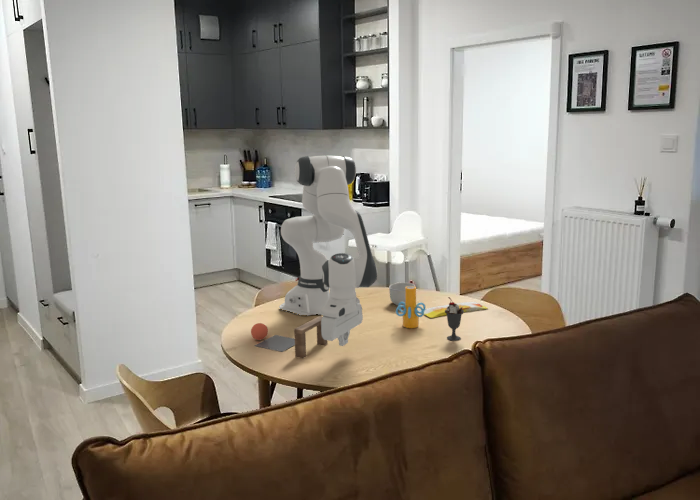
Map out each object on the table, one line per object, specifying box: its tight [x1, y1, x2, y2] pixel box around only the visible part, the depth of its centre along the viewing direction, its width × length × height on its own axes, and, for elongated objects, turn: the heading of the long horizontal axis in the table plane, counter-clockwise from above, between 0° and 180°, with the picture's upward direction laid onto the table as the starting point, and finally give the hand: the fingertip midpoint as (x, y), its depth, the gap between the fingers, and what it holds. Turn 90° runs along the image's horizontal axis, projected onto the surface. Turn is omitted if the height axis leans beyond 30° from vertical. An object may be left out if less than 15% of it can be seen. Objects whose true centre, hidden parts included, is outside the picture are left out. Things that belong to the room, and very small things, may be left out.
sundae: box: [445, 297, 465, 342], centre depth 218 cm, size 7×7×15 cm
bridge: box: [293, 315, 329, 359], centre depth 210 cm, size 3×15×10 cm, turn 149°
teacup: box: [388, 281, 416, 306], centre depth 262 cm, size 14×11×8 cm
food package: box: [418, 301, 489, 319], centre depth 251 cm, size 27×2×10 cm
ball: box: [250, 322, 269, 341], centre depth 222 cm, size 6×6×6 cm
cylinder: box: [395, 285, 427, 329], centre depth 232 cm, size 12×10×15 cm
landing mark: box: [254, 334, 295, 353], centre depth 218 cm, size 12×12×1 cm
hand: (343, 344), depth 204 cm, fingers closed
